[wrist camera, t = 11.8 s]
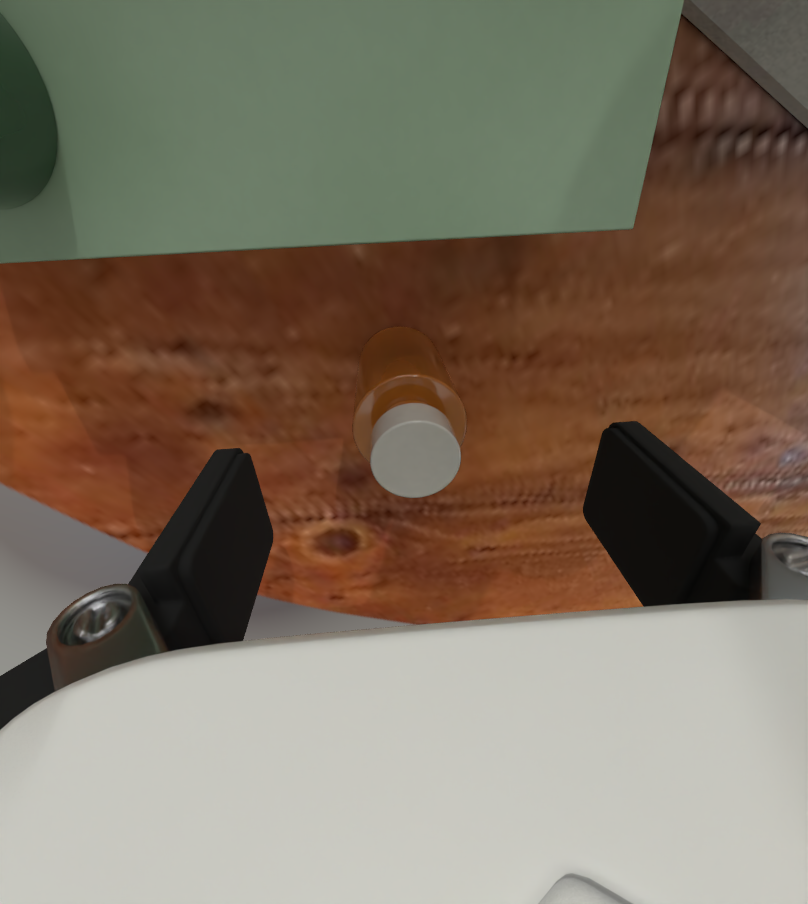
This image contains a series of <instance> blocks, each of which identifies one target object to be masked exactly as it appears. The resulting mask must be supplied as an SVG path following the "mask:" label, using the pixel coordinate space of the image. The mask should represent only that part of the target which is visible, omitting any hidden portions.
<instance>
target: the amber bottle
mask: <svg viewBox="0 0 808 904" xmlns="http://www.w3.org/2000/svg"><path fill="white" fill-rule="evenodd" d="M352 428H353V436H354V440H355V443H356V446H357V448H358V450H359V451H360V453H361V454H362V455H363V457H364V458H365V459H366V460H367V461H368V462H369V463H370V465H371V470H372V473H373V475H374V477H375V479H376V480H377V482H378V483H379V484H380V485H381V486H382V487H383V488H385V489H386V490H387V491H389V492H391V493H393V494H395V495H398V496H402V497H408V498H418V497H425V496H429V495H431V494H434V493H436V492H438V491H440V490H442V489H443V488H444V487H446V486H447V485H448V484H449V483H450V482H451V481H452V480H453V478H454V477H455V475H456V474H457V472H458V469H459V466H460V463H461V451H460V446H461V445H462V442H463V440H464V438H465V434H466V429H467V416H466V411H465V408H464V405H463V403H462V401H461V399H460V397H459V395H458V392H457V390H456V388H455V386H454V384H453V382H452V380H451V378H450V376H449V374H448V372H447V369H446V367H445V365H444V363H443V361H442V359H441V357H440V355H439V353H438V351H437V349H436V347H435V345H434V344H433V342H432V341H431V340H430V339H429V338H428V337H427V336H426V335H425V334H423V333H422V332H420V331H418V330H416V329H413V328H410V327H403V326H397V327H391V328H387V329H384V330H382V331H380V332H378V333H376V334H375V335H374V336H373V337H371V338H370V339H369V340H368V342H367V343H366V344H365V346H364V347H363V349H362V351H361V354H360V357H359V362H358V372H357V383H356V393H355V404H354V414H353V425H352Z"/></svg>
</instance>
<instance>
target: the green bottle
mask: <svg viewBox="0 0 808 904" xmlns="http://www.w3.org/2000/svg"><path fill="white" fill-rule="evenodd" d="M56 156H57V128H56V120H55V116H54V112H53V107H52V103H51V100H50V97H49V94H48V91H47V88H46V86H45V84H44V81H43V79H42V77H41V74H40V72H39V70H38V68H37V66H36V64H35V62H34V61H33V59H32V57H31V55H30V53H29V51H28V50H27V48H26V47H25V45H24V44H23V42H22V41H21V39H20V38H19V36H18V34H17V33H16V32H15V30H14V29H13V28H12V27H11V25H10V24H9V23H8V21H7V20H6V19H5V17H4V16H3V15H2V14H1V13H0V210H7V209H13V208H16V207H19V206H22V205H24V204H26V203H28V202H30V201H31V200H33V199H34V198H35V197H36V196H37V195H39V194H40V193H41V191H42V190H43V189H44V188H45V186H46V185H47V183H48V181H49V179H50V178H51V176H52V173H53V170H54V166H55V163H56Z"/></svg>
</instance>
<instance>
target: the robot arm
mask: <svg viewBox="0 0 808 904" xmlns="http://www.w3.org/2000/svg"><path fill="white" fill-rule="evenodd" d="M583 513H584V517H585V519H586V521H587V522H588V524H589V525H590V527H591V528H592V530H593V531H594V533H595V534H596V536H597V537H598V539H599V540H600V542H601V543H602V545H603V546H604V548H605V549H606V551H607V552H608V554H609V555H610V557H611V558H612V560H613V561H614V563H615V564H616V566H617V567H618V569H619V570H620V572H621V573H622V575H623V576H624V578H625V579H626V581H627V582H628V584H629V585H630V587H631V588H632V590H633V591H634V593H635V594H636V596H637V597H638V599H639V600H640V602H641V603H642V605H643V606H644V607H634V608H621V609H607V610H594V611H581V612H568V613H555V614H543V615H531V616H518V617H506V618H494V619H481V620H469V621H457V622H445V623H433V624H421V625H410V626H398V627H387V628H375V629H364V630H353V631H342V632H330V633H318V634H307V635H296V636H287V637H276V638H267V639H258V640H248V641H243V639H244V636H245V632H246V629H247V626H248V622H249V619H250V616H251V612H252V609H253V606H254V603H255V599H256V596H257V593H258V589H259V586H260V583H261V580H262V576H263V573H264V570H265V566H266V563H267V560H268V557H269V553H270V550H271V547H272V543H273V529H272V526H271V522H270V519H269V516H268V512H267V509H266V506H265V502H264V499H263V495H262V492H261V489H260V485H259V482H258V479H257V475H256V472H255V469H254V465H253V462H252V459H251V456H250V454H248V453H243V451H242V450H241V449H240V448H233V449H219V450H216V451H215V452H214V453H213V455H212V456H211V458H210V459H209V461H208V462H207V464H206V465H205V467H204V468H203V470H202V471H201V473H200V475H199V476H198V478H197V479H196V481H195V482H194V484H193V485H192V487H191V488H190V490H189V491H188V493H187V494H186V496H185V498H184V499H183V501H182V502H181V504H180V505H179V507H178V508H177V510H176V511H175V513H174V514H173V516H172V517H171V519H170V521H169V522H168V524H167V525H166V527H165V528H164V530H163V531H162V533H161V534H160V536H159V537H158V539H157V540H156V542H155V544H154V545H153V547H152V548H151V550H150V551H149V553H148V554H147V556H146V557H145V559H144V560H143V562H142V564H141V565H140V567H139V568H138V570H137V572H136V573H135V575H134V576H133V578H132V579H131V581H130V582H129V584H113V585H109V586H104V587H101V588H98V589H96V590H94V591H91V592H89V593H87V594H85V595H84V596H82V597H80V598H79V599H77V600H75V601H74V602H73V603H71V604H70V605H69V606H68V607H67V608H65V609H64V610H63V611H62V612H61V613H60V614H59V615H58V617H57V618H56V619H55V620H54V621H53V623H52V624H51V627H50V628H49V630H48V632H47V639H46V645H47V648H46V649H45V650H43V651H41V652H40V653H38V654H36V655H35V656H33V657H31V658H30V659H28V660H26V661H25V662H23V663H21V664H20V665H18V666H16V667H15V668H13V669H11V670H10V671H8V672H6V673H5V674H3V675H1V676H0V904H808V537H805V536H801V535H796V534H792V533H774V534H769V535H768V536H766V537H764V538H763V540H762V539H761V538H760V537H759V536H758V535H757V534H755V533H756V531H757V529H758V528H759V526H760V524H761V523H760V522H759V521H757V520H756V519H755V518H754V517H752V516H751V515H750V514H749V513H748V512H746V511H745V510H744V509H743V508H742V507H740V506H739V505H738V504H737V503H736V502H734V501H733V500H732V499H731V498H729V497H728V496H727V495H726V494H725V493H723V492H722V491H721V490H720V489H719V488H717V487H716V486H715V485H714V484H713V483H711V482H710V481H709V480H708V479H706V478H705V477H704V476H703V475H702V474H700V473H699V472H698V471H697V470H696V469H694V468H693V467H692V466H691V465H690V464H688V463H687V462H686V461H685V460H683V459H682V458H681V457H680V456H679V455H677V454H676V453H675V452H674V451H673V450H671V449H670V448H669V447H668V446H667V445H665V444H664V443H663V442H662V441H660V440H659V439H658V438H657V437H656V436H654V435H653V434H652V433H651V432H650V431H648V430H647V429H646V428H645V427H644V426H642V425H641V424H640V423H638V422H637V421H630V422H616V423H612V424H611V425H610V426H609V428H606V429H605V430H604V431H603V433H602V436H601V440H600V444H599V448H598V451H597V455H596V459H595V463H594V467H593V471H592V475H591V478H590V482H589V486H588V490H587V494H586V498H585V502H584V506H583Z"/></svg>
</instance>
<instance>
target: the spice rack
mask: <svg viewBox="0 0 808 904" xmlns="http://www.w3.org/2000/svg"><path fill="white" fill-rule="evenodd" d="M683 3H684V0H0V13H1V14H2V15H3V16H4V17H5V19H6V20H7V21H8V23H9V24H10V25H11V27H12V28H13V29H14V30H15V32H16V33H17V34H18V36H19V38H20V39H21V41H22V42H23V44H24V45H25V47H26V48H27V50H28V51H29V53H30V55H31V57H32V59H33V61H34V62H35V64H36V66H37V68H38V70H39V72H40V74H41V77H42V79H43V81H44V84H45V86H46V88H47V91H48V94H49V97H50V100H51V103H52V107H53V112H54V116H55V120H56V128H57V156H56V163H55V166H54V170H53V173H52V176H51V178H50V179H49V181H48V183H47V185H46V186H45V188H44V189H43V190H42V191H41V193H40V194H39V195H37V196H36V197H35V198H34V199H33V200H31V201H30V202H28V203H26V204H24V205H22V206H19V207H16V208H13V209H7V210H0V264H1V263H19V262H38V261H56V260H75V259H93V258H112V257H130V256H149V255H167V254H186V253H204V252H223V251H241V250H260V249H278V248H297V247H315V246H334V245H352V244H371V243H389V242H408V241H426V240H445V239H463V238H482V237H500V236H519V235H537V234H556V233H574V232H593V231H611V230H630V229H632V228H633V227H634V222H635V218H636V213H637V209H638V204H639V200H640V195H641V191H642V186H643V182H644V177H645V173H646V168H647V164H648V160H649V155H650V151H651V146H652V142H653V137H654V133H655V128H656V124H657V119H658V115H659V110H660V106H661V101H662V97H663V93H664V88H665V84H666V79H667V75H668V70H669V66H670V61H671V57H672V52H673V48H674V43H675V39H676V34H677V30H678V26H679V21H680V17H681V12H682V8H683Z"/></svg>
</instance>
